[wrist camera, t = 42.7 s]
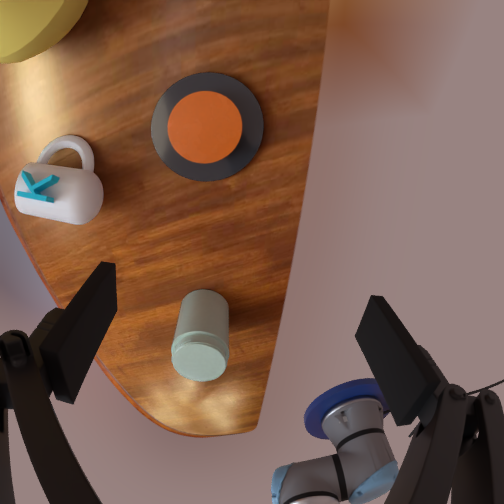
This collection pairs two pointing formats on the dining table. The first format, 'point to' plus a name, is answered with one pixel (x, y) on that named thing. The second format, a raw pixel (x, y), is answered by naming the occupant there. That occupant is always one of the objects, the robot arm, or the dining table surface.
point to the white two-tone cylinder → (60, 185)
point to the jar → (201, 336)
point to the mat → (249, 136)
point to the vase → (35, 26)
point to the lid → (204, 127)
